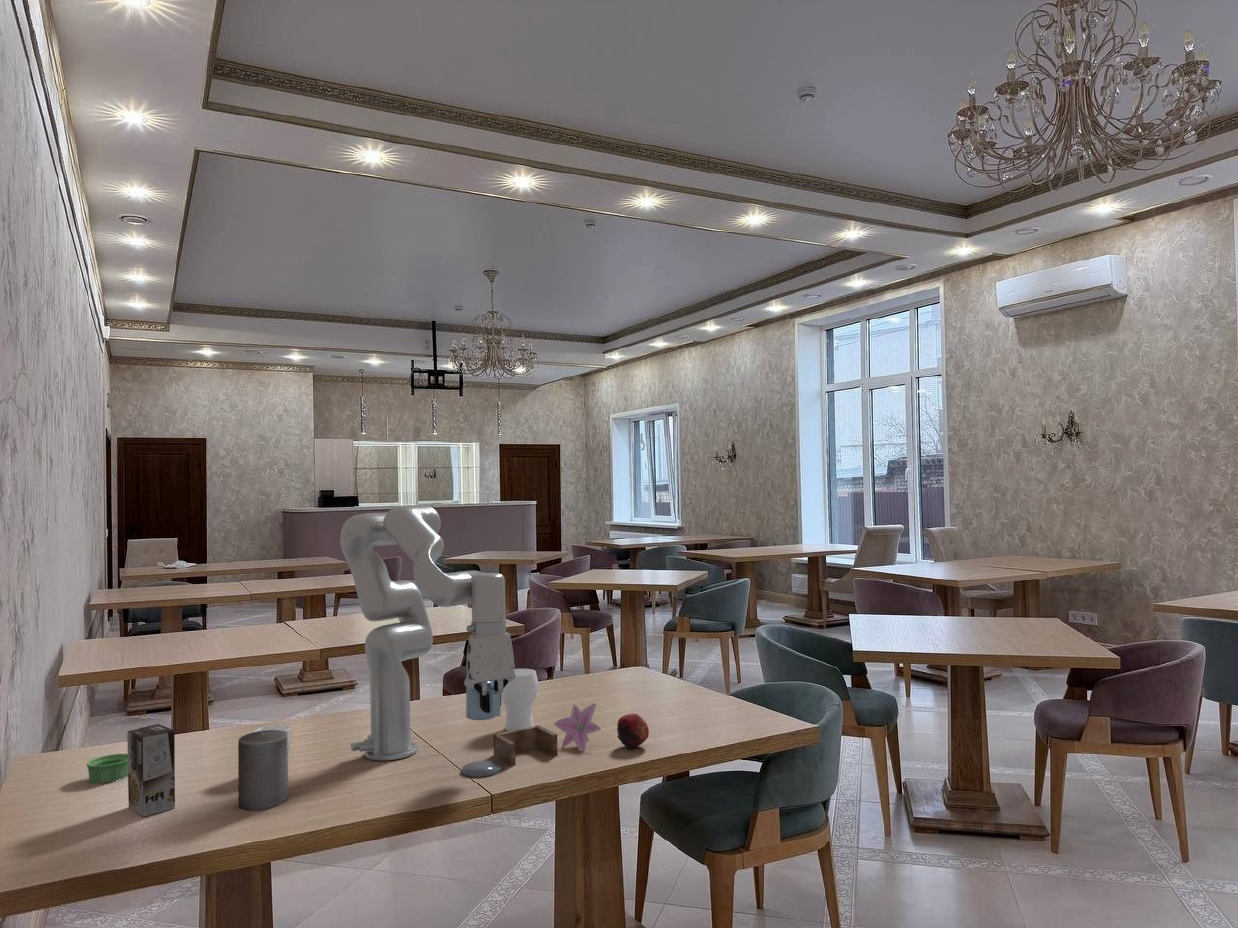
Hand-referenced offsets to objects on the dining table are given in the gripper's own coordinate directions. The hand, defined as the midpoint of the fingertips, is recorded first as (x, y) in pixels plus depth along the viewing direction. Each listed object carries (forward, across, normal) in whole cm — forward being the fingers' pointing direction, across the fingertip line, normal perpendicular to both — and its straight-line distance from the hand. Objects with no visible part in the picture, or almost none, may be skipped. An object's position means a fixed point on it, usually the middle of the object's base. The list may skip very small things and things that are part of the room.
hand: (490, 710), depth 185 cm
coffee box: (+15, -65, +27) cm, 72 cm away
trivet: (+15, 0, +6) cm, 16 cm away
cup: (+15, +22, +32) cm, 41 cm away
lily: (+15, +28, +9) cm, 33 cm away
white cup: (+15, -40, +35) cm, 55 cm away
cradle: (+15, +13, +9) cm, 22 cm away
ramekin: (+16, -72, +55) cm, 92 cm away
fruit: (+15, +37, -1) cm, 40 cm away
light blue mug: (+2, 0, +3) cm, 4 cm away
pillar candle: (+15, -45, +16) cm, 50 cm away
